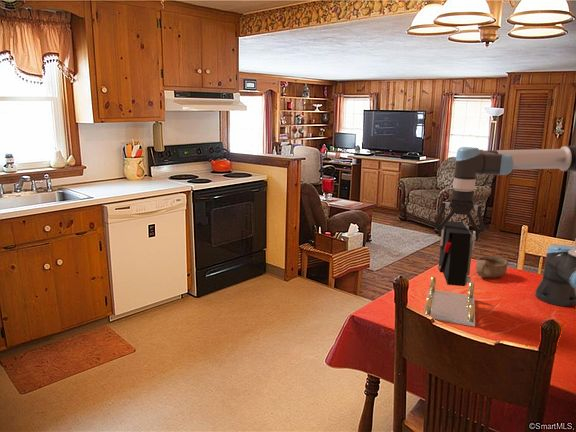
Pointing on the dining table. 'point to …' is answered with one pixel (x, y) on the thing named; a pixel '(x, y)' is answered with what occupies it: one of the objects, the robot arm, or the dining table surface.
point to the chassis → (451, 305)
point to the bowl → (491, 266)
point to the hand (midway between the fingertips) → (456, 246)
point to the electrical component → (456, 253)
